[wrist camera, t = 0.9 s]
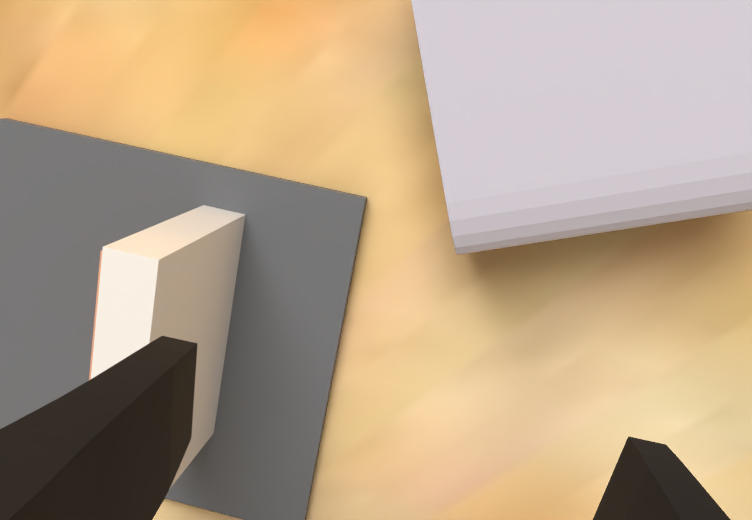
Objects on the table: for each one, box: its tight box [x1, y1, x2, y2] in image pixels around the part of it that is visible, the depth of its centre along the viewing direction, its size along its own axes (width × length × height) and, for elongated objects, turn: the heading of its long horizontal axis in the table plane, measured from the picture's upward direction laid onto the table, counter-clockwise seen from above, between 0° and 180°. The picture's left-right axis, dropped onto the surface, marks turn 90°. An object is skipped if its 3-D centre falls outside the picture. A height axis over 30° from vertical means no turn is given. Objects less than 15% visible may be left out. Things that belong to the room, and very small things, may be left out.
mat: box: [0, 118, 367, 520], centre depth 27 cm, size 14×14×1 cm
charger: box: [411, 0, 752, 255], centre depth 20 cm, size 5×9×15 cm
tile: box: [89, 205, 245, 488], centre depth 23 cm, size 9×2×7 cm, turn 169°
